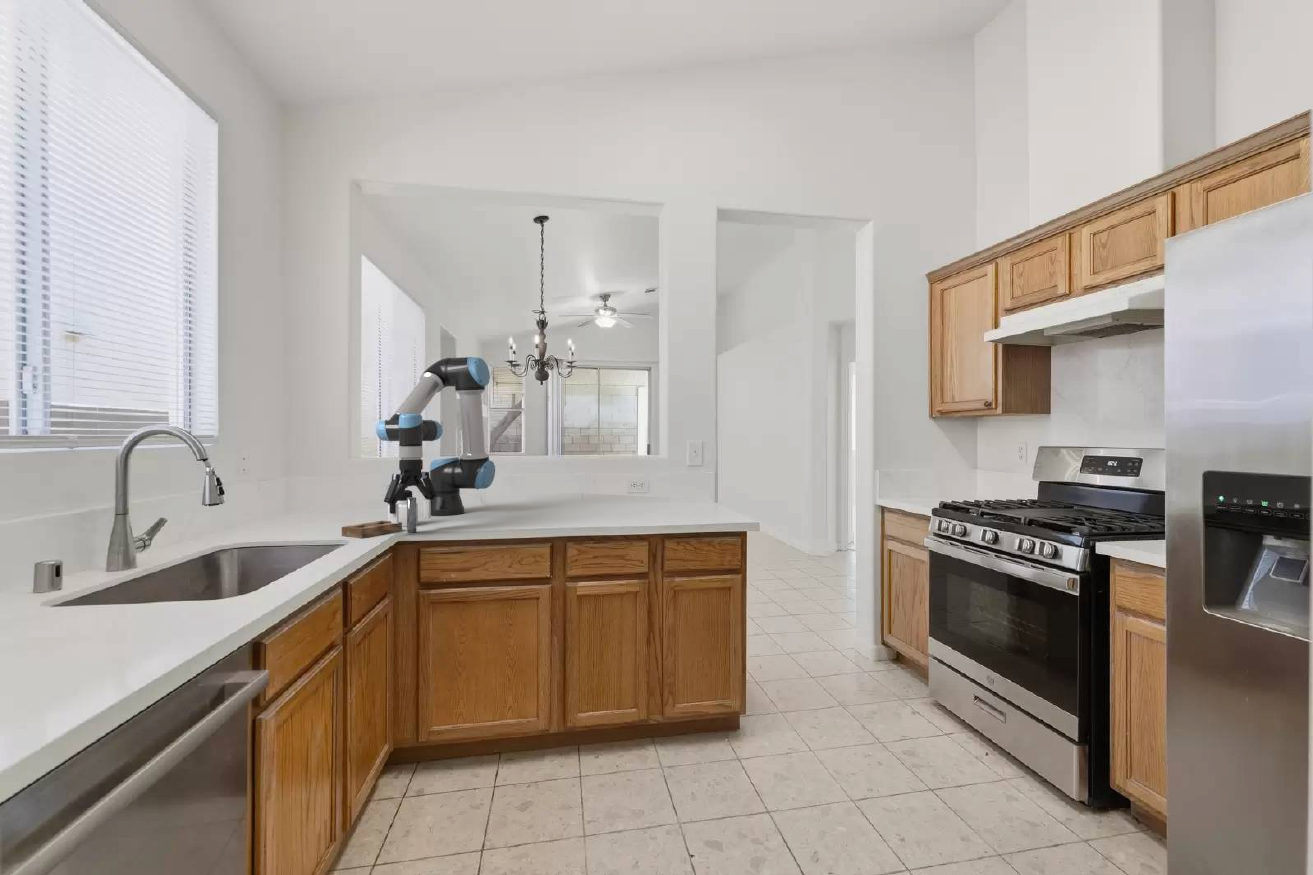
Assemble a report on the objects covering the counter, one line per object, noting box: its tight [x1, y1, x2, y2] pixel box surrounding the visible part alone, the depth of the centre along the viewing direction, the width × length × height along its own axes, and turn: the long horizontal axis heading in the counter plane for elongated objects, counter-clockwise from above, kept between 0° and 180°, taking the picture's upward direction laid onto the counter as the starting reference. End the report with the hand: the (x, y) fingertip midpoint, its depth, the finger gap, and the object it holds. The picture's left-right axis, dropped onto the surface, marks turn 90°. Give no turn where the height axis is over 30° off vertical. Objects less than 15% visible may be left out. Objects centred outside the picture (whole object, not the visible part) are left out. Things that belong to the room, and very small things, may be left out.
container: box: [387, 489, 419, 528], centre depth 231 cm, size 8×8×13 cm
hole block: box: [341, 520, 403, 539], centre depth 214 cm, size 16×10×3 cm, turn 152°
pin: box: [406, 496, 418, 534], centre depth 215 cm, size 3×3×12 cm
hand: (411, 520), depth 215 cm, fingers open, 13 cm apart
